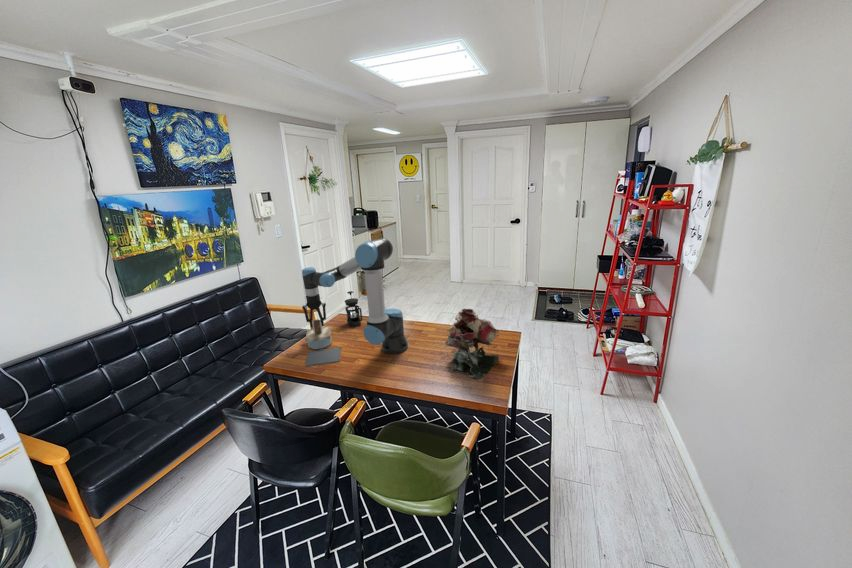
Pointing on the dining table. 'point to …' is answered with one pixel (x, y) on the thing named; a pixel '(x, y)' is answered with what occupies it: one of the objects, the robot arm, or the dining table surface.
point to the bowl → (319, 343)
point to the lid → (318, 332)
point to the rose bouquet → (471, 343)
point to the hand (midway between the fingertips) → (318, 331)
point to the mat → (323, 357)
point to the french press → (355, 317)
